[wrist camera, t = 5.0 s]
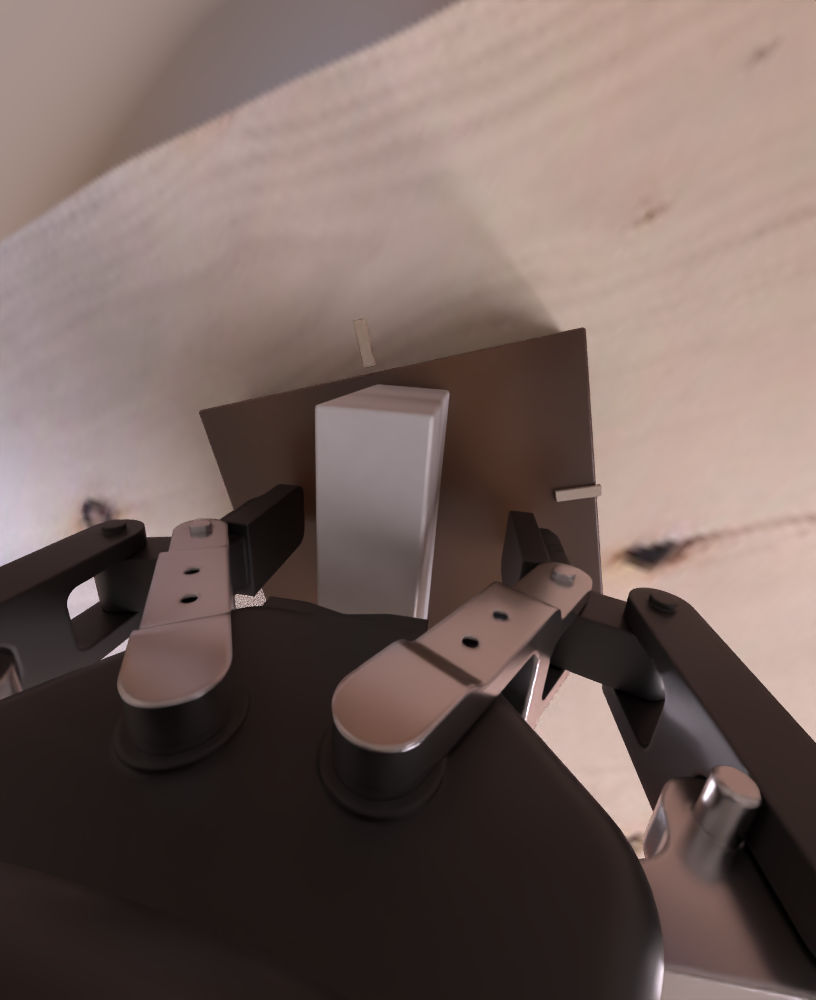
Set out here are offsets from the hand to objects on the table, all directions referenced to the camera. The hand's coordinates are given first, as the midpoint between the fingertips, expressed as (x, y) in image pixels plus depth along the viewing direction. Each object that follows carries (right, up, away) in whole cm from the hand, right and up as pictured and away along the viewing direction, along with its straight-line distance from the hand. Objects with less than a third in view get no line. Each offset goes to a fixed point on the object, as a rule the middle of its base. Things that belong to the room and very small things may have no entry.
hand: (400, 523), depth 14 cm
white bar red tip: (0, 0, +1) cm, 1 cm away
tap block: (+1, +1, +3) cm, 4 cm away
